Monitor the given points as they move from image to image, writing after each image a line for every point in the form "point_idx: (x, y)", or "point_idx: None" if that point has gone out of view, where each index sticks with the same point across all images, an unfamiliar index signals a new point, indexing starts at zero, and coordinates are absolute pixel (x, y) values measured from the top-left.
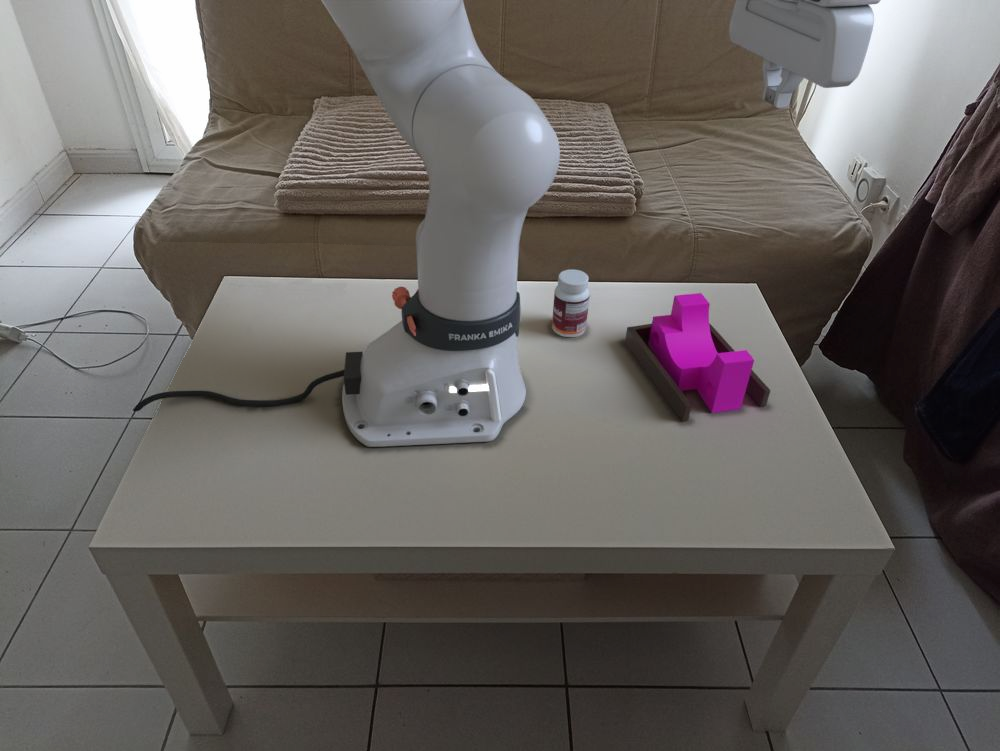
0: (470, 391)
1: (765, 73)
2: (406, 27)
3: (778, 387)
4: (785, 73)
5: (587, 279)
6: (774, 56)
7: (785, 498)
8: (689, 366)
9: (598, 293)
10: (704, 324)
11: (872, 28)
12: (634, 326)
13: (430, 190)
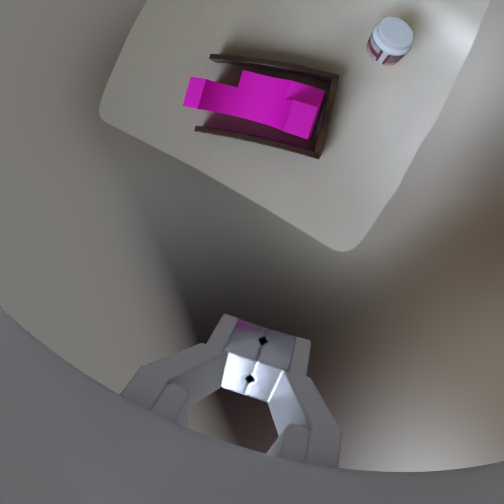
0: None
1: (309, 410)
2: None
3: (215, 158)
4: (151, 393)
5: (385, 39)
6: (192, 461)
7: (133, 85)
8: (246, 80)
9: (425, 120)
10: (280, 123)
11: None
12: (337, 82)
13: None
